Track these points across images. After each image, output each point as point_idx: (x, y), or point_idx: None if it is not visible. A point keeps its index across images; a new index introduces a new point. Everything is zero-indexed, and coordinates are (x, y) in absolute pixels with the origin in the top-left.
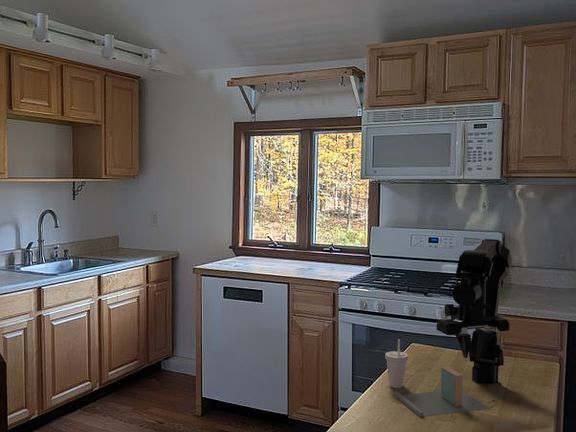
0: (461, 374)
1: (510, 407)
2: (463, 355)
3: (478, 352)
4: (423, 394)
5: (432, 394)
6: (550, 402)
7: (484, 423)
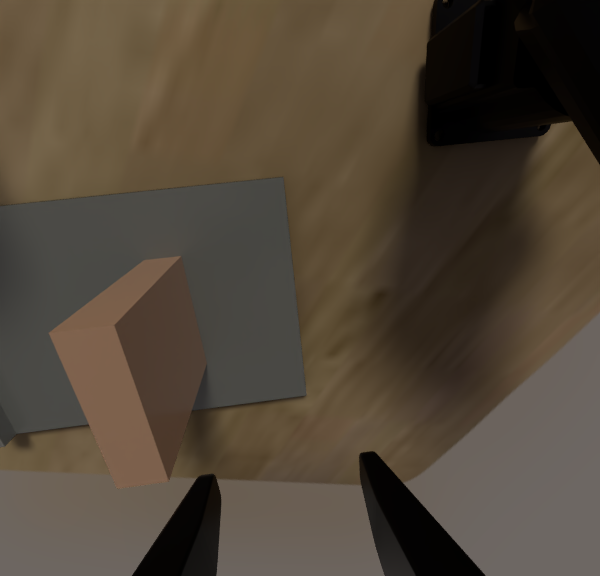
0: (163, 472)
1: (398, 364)
2: (189, 497)
3: (369, 504)
4: (53, 226)
5: (105, 232)
6: (569, 340)
7: (237, 458)
